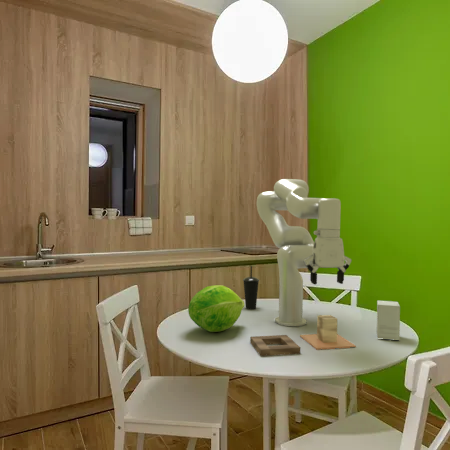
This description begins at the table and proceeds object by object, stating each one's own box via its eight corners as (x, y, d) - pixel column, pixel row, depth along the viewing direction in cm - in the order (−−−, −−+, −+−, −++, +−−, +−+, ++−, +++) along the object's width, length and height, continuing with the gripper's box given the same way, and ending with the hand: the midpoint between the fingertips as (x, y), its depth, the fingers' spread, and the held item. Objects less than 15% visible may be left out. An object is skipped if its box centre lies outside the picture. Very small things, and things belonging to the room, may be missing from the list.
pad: (300, 336, 140) (300, 334, 140) (336, 334, 142) (336, 333, 142) (316, 349, 126) (316, 348, 126) (355, 347, 128) (355, 345, 128)
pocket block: (250, 342, 133) (250, 336, 132) (286, 340, 135) (286, 334, 135) (260, 356, 120) (260, 349, 120) (300, 353, 122) (300, 347, 122)
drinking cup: (240, 306, 184) (240, 265, 184) (255, 305, 186) (255, 264, 186) (245, 310, 177) (246, 267, 176) (261, 309, 179) (261, 266, 179)
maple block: (317, 338, 136) (317, 315, 136) (330, 337, 137) (330, 315, 137) (323, 342, 131) (323, 319, 131) (336, 342, 132) (337, 318, 132)
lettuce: (259, 330, 146) (260, 285, 146) (204, 343, 131) (205, 293, 131) (229, 319, 161) (229, 279, 161) (176, 330, 146) (177, 285, 145)
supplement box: (397, 335, 142) (398, 301, 141) (399, 341, 135) (400, 305, 134) (376, 333, 144) (376, 299, 144) (376, 339, 137) (377, 304, 137)
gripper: (309, 234, 128) (307, 286, 129) (357, 235, 131) (355, 285, 132) (300, 233, 135) (299, 281, 136) (346, 233, 138) (344, 280, 139)
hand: (327, 283), depth 134 cm, fingers open, 9 cm apart
